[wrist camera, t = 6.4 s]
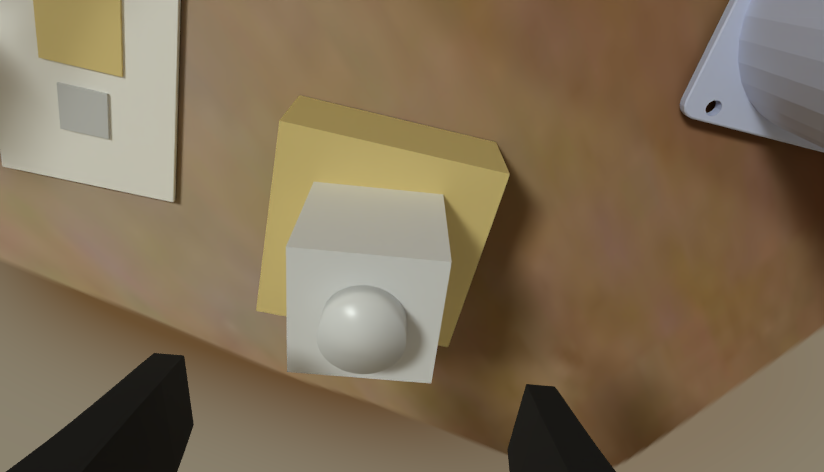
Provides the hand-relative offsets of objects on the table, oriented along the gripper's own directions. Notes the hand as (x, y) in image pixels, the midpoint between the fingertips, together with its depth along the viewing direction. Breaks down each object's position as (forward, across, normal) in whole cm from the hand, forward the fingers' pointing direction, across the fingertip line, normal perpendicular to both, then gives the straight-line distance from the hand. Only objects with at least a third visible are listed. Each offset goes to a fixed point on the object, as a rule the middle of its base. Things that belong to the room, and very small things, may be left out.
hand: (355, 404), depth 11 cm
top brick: (+7, 0, 0) cm, 7 cm away
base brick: (+10, 0, 0) cm, 10 cm away
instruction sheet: (+10, +10, -4) cm, 15 cm away
